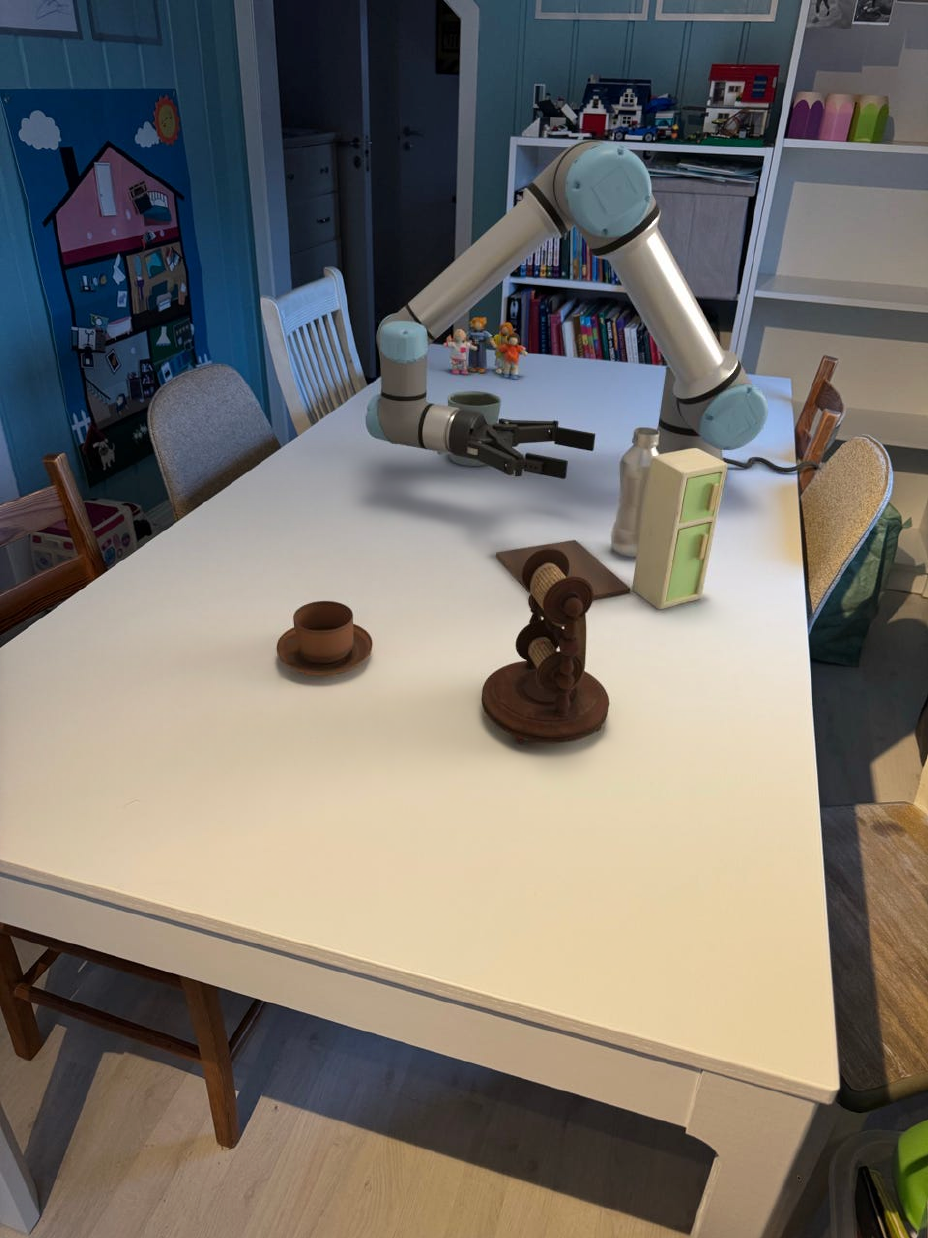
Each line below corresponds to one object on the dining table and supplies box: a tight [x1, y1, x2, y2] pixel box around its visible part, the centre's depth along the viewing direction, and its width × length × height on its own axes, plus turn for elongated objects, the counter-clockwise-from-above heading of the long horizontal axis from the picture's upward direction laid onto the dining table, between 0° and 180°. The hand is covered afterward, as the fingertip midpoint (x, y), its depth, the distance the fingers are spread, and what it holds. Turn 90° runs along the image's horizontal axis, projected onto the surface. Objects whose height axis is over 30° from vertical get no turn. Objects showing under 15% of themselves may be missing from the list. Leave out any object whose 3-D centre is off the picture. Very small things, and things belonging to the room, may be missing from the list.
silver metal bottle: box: [610, 426, 660, 558], centre depth 135 cm, size 6×7×20 cm
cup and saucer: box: [275, 600, 374, 676], centre depth 111 cm, size 12×12×6 cm
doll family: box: [443, 316, 528, 380], centre depth 223 cm, size 21×10×13 cm, turn 80°
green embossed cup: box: [447, 390, 502, 467], centre depth 171 cm, size 10×10×12 cm
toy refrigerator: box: [631, 448, 728, 610], centre depth 123 cm, size 8×7×21 cm
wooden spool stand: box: [481, 548, 610, 746], centre depth 99 cm, size 15×15×20 cm
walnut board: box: [495, 539, 631, 601], centre depth 133 cm, size 14×17×1 cm
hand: (580, 455), depth 136 cm, fingers open, 13 cm apart
